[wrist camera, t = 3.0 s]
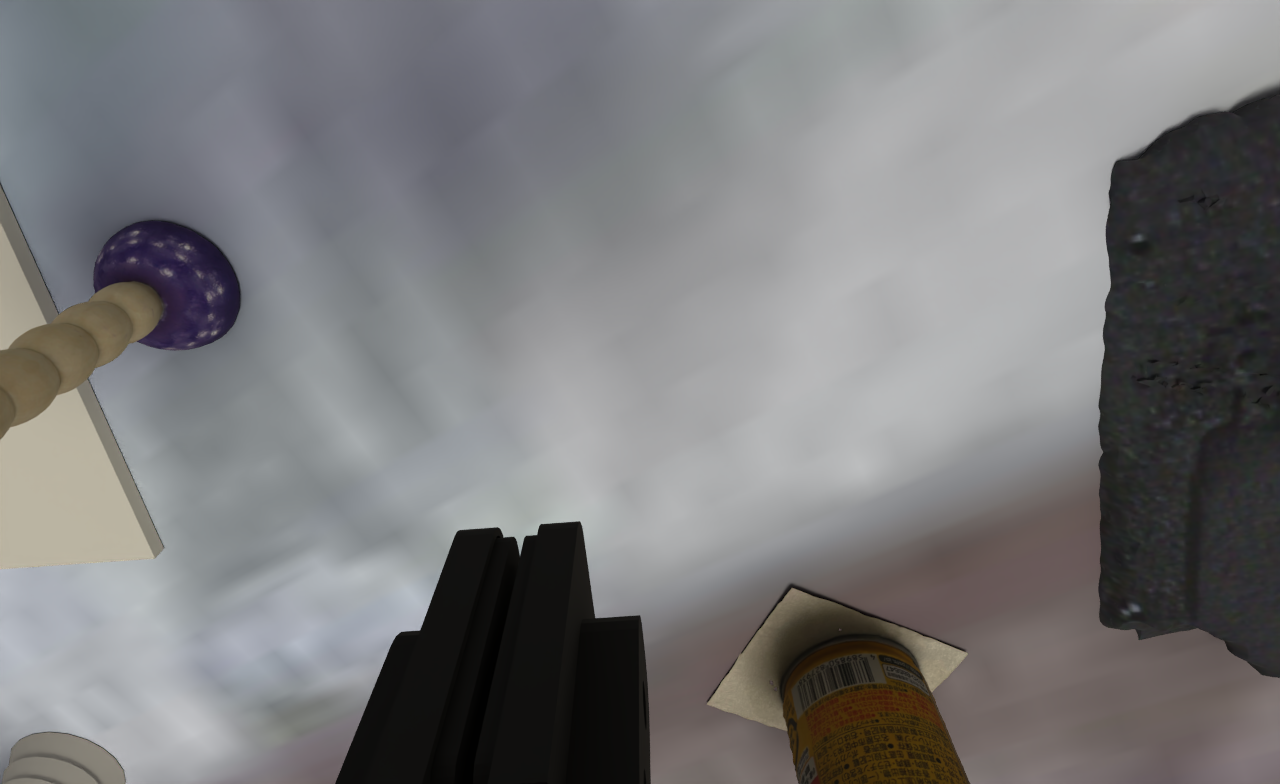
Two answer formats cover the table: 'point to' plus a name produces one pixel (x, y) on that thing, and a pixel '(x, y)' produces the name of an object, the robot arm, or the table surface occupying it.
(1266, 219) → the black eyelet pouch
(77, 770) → the chalice
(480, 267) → the table surface
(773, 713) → the condiment
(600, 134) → the table surface
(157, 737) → the table surface
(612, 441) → the table surface
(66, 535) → the mat
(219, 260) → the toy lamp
